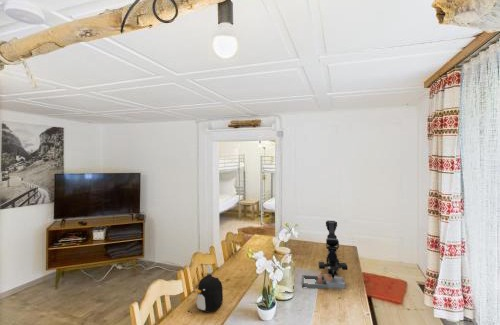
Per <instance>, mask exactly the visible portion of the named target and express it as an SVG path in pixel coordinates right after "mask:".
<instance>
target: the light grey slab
mask: <svg viewBox="0 0 500 325" xmlns="http://www.w3.org/2000/svg"><path fill="white" fill-rule="evenodd" d="M325 282H326V285H327V289H337V290H346V283H345V279H344V278H343V276H334V278H332V281H325Z"/></svg>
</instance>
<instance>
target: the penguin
mask: <svg viewBox="0 0 500 325" xmlns="http://www.w3.org/2000/svg"><path fill="white" fill-rule="evenodd" d="M223 294H224V293H223V283H222V281H221V280H220V279H219V277H215V276H213V274H208V275H206V276H204V277H202V279H200V280H199V282H198V287H197V297H196V300H195V301H196V302H195V303H196V307H197V308H198V309H199V310H200V311H202V310H205V311H209V312H213V311H212V310H214V311H216V310H217V309H219V308H220V306H221V305H222V303H223V300H224V298H223V297H224V296H223ZM215 309H216V310H215ZM205 311H204V312H205Z"/></svg>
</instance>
